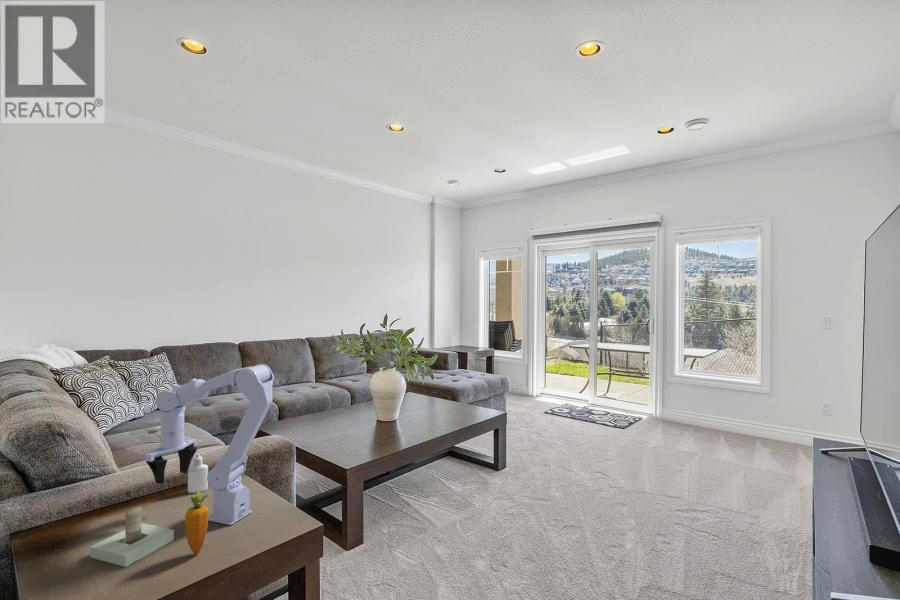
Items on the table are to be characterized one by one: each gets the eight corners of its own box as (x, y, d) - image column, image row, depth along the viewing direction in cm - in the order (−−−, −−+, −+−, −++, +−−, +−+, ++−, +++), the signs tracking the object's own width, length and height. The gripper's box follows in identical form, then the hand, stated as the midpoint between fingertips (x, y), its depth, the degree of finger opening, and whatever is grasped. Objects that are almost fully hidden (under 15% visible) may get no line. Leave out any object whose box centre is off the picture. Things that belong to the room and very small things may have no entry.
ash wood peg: (144, 545, 107) (144, 508, 107) (131, 553, 104) (131, 513, 104) (135, 543, 108) (135, 506, 108) (122, 550, 105) (122, 511, 105)
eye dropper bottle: (201, 494, 136) (202, 456, 136) (185, 493, 137) (185, 455, 137) (210, 488, 141) (210, 451, 141) (194, 487, 141) (194, 451, 141)
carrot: (192, 548, 106) (193, 487, 107) (212, 548, 106) (213, 488, 106) (179, 560, 101) (180, 496, 102) (200, 560, 101) (201, 497, 101)
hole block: (173, 539, 110) (173, 530, 110) (125, 567, 99) (126, 556, 99) (139, 531, 114) (140, 522, 114) (89, 557, 102) (90, 546, 102)
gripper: (184, 422, 132) (184, 466, 132) (137, 436, 118) (136, 486, 118) (202, 424, 130) (201, 469, 130) (156, 439, 116) (155, 489, 116)
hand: (172, 477), depth 124 cm, fingers open, 7 cm apart
